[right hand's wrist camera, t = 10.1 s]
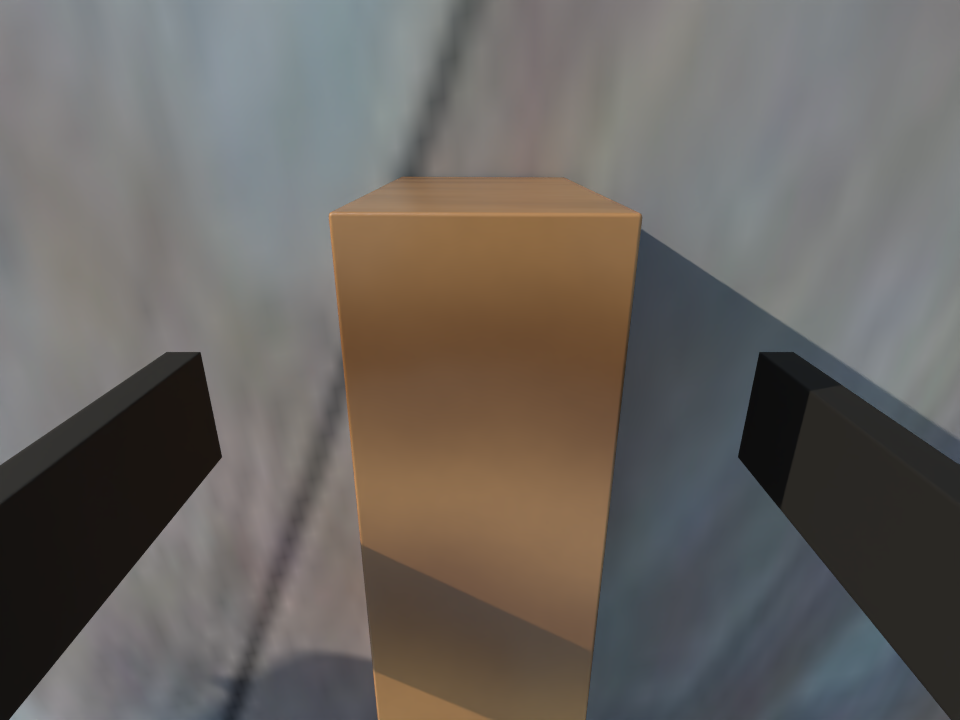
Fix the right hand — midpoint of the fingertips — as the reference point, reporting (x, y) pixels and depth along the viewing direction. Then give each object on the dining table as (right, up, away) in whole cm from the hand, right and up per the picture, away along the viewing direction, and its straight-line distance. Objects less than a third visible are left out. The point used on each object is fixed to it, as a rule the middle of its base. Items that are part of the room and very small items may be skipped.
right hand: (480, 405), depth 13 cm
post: (0, -19, +12) cm, 22 cm away
